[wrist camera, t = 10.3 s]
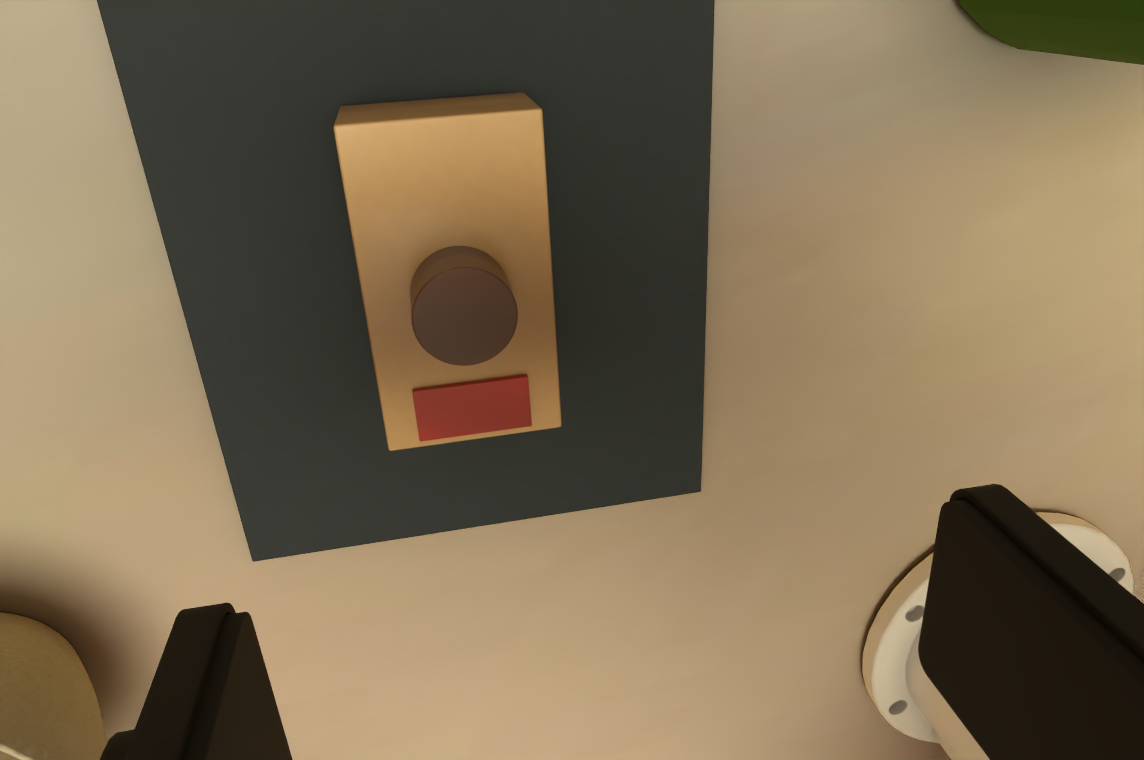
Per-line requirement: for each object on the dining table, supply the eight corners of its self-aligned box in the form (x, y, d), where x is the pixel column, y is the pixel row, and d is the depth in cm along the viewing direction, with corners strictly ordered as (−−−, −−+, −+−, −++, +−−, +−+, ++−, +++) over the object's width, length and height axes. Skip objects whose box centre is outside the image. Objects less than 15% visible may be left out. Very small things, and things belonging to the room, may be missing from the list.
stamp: (340, 103, 23) (327, 138, 18) (522, 89, 23) (555, 120, 19) (388, 396, 27) (389, 486, 22) (542, 376, 27) (574, 459, 23)
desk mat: (697, 486, 31) (701, 492, 31) (254, 555, 29) (252, 562, 28) (713, -141, 22) (719, -143, 22) (68, -118, 20) (63, -120, 19)
